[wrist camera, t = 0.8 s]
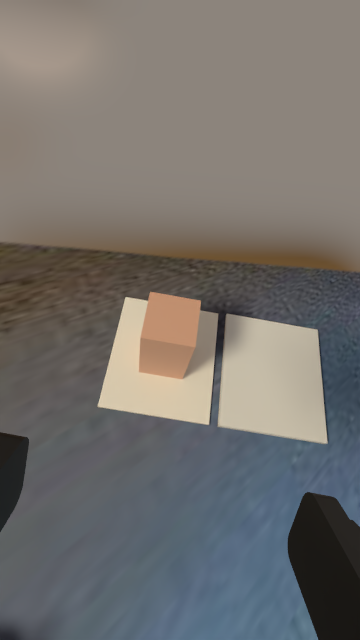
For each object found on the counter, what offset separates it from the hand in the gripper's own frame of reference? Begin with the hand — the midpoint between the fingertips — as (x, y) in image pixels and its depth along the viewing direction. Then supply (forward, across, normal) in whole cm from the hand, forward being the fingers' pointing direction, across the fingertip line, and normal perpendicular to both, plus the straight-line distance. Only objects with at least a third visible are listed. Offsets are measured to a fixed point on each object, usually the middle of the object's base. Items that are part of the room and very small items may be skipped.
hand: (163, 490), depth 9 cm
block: (+28, 0, +6) cm, 29 cm away
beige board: (+28, -13, +6) cm, 32 cm away
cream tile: (+29, 0, +6) cm, 29 cm away
